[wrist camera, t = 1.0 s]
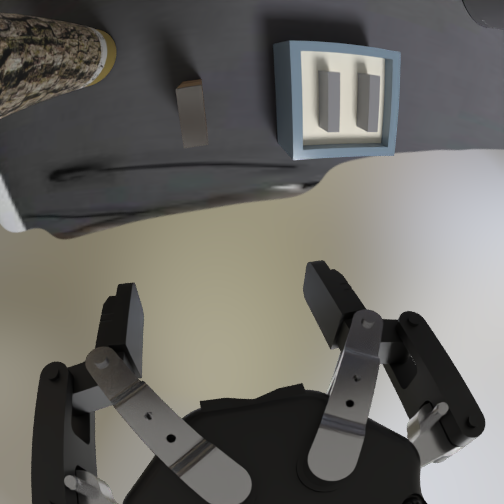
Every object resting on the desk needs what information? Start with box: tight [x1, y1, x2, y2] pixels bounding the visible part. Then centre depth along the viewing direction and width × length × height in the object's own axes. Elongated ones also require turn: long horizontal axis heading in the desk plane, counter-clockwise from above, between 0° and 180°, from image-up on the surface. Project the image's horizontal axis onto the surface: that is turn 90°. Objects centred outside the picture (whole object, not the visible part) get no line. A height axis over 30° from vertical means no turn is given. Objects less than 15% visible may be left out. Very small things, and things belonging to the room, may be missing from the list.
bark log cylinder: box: [0, 13, 116, 119], centre depth 13 cm, size 7×7×25 cm
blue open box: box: [273, 41, 400, 160], centre depth 28 cm, size 12×12×8 cm
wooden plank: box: [176, 79, 208, 148], centre depth 25 cm, size 5×2×10 cm, turn 4°
